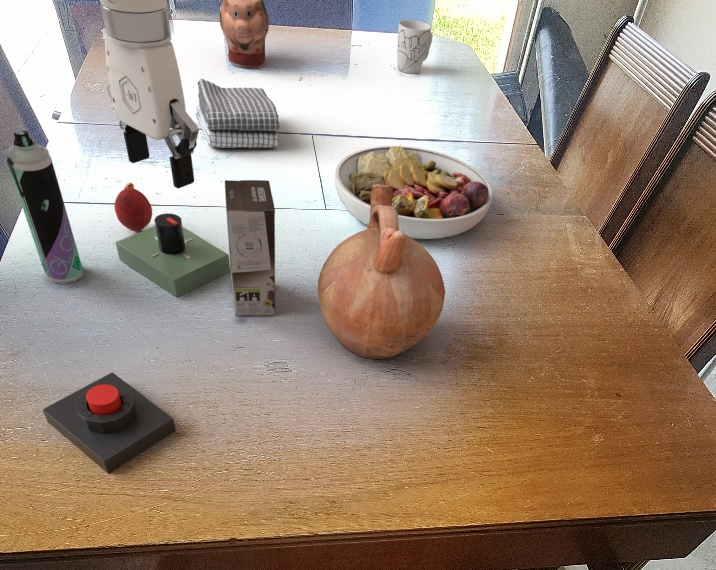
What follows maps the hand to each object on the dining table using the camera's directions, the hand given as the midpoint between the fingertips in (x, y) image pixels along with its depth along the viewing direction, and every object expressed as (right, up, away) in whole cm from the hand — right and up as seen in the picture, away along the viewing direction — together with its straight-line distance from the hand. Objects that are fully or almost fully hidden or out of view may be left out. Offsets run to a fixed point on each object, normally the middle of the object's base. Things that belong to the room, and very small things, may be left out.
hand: (161, 172), depth 86 cm
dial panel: (-2, -8, +12) cm, 15 cm away
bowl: (+38, +11, +32) cm, 51 cm away
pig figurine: (-1, +70, +72) cm, 100 cm away
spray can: (-18, -12, +8) cm, 23 cm away
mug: (+43, +74, +81) cm, 118 cm away
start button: (-2, -36, -14) cm, 38 cm away
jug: (+31, -22, +6) cm, 38 cm away
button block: (-3, -38, -11) cm, 39 cm away
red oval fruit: (-10, -1, +17) cm, 20 cm away
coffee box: (+12, -15, +9) cm, 21 cm away
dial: (-1, -7, +10) cm, 12 cm away
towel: (+2, +33, +45) cm, 56 cm away
